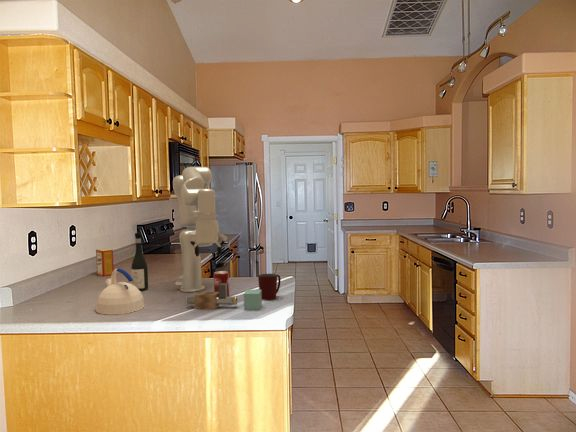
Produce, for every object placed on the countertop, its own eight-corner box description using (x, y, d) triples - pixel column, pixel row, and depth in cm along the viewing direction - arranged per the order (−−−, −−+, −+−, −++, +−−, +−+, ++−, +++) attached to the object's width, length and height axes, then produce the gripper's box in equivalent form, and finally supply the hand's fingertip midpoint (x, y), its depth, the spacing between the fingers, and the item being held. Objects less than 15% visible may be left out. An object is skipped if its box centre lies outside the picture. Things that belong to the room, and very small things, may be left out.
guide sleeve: (194, 309, 197) (194, 295, 197) (198, 305, 204) (198, 291, 203) (216, 309, 196) (215, 295, 196) (219, 305, 203) (219, 291, 202)
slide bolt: (186, 305, 199) (186, 285, 198) (189, 303, 202) (188, 283, 202) (236, 305, 197) (235, 284, 197) (237, 303, 201) (236, 283, 200)
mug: (274, 294, 222) (273, 271, 221) (286, 297, 216) (285, 274, 215) (254, 298, 214) (254, 275, 213) (266, 301, 208) (266, 278, 207)
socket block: (244, 309, 195) (243, 293, 194) (247, 305, 203) (246, 289, 202) (259, 309, 194) (258, 293, 194) (261, 305, 202) (261, 289, 202)
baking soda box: (97, 274, 281) (95, 249, 280) (107, 273, 286) (106, 248, 285) (103, 276, 275) (102, 250, 274) (113, 275, 279) (112, 249, 278)
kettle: (128, 300, 216) (126, 263, 214) (153, 307, 202) (152, 267, 201) (87, 310, 200) (85, 269, 199) (111, 318, 187) (109, 274, 186)
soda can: (217, 299, 214) (216, 274, 213) (212, 296, 220) (211, 271, 219) (231, 297, 217) (230, 272, 216) (226, 294, 224) (225, 270, 223)
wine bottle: (143, 291, 233) (140, 233, 231) (129, 291, 234) (126, 233, 232) (151, 288, 240) (148, 232, 238) (137, 287, 242) (135, 232, 240)
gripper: (185, 218, 195) (186, 257, 196) (224, 217, 194) (225, 256, 195) (190, 217, 203) (191, 254, 204) (228, 216, 201) (229, 254, 202)
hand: (208, 255), depth 199 cm, fingers open, 9 cm apart
